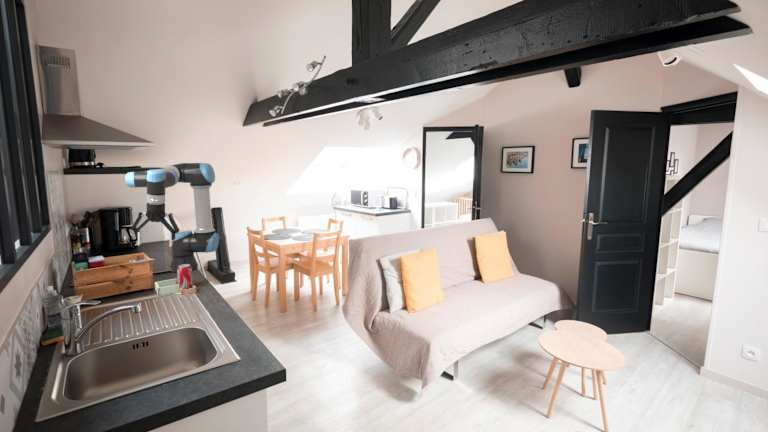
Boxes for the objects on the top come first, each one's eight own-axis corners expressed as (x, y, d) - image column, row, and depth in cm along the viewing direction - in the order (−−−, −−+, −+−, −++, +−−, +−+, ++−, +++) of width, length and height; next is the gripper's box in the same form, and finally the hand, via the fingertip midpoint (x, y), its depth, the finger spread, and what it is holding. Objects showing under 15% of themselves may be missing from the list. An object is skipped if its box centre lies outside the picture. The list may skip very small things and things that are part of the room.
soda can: (189, 289, 199) (187, 267, 197) (175, 289, 199) (173, 267, 197) (196, 285, 206) (194, 263, 204) (183, 285, 206) (181, 263, 204)
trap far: (188, 280, 213) (187, 276, 213) (189, 282, 210) (189, 278, 209) (174, 283, 209) (173, 278, 209) (175, 285, 206) (175, 280, 205)
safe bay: (175, 285, 205) (175, 278, 204) (179, 292, 195) (179, 284, 195) (155, 289, 199) (154, 282, 199) (158, 296, 190) (157, 288, 189)
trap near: (195, 289, 199) (194, 285, 198) (196, 292, 195) (196, 287, 195) (180, 292, 195) (179, 288, 194) (181, 295, 191) (181, 290, 191)
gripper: (122, 202, 173) (123, 246, 178) (183, 206, 180) (182, 249, 185) (128, 198, 180) (128, 241, 185) (186, 203, 187) (185, 244, 192)
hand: (155, 245), depth 185 cm, fingers open, 13 cm apart
